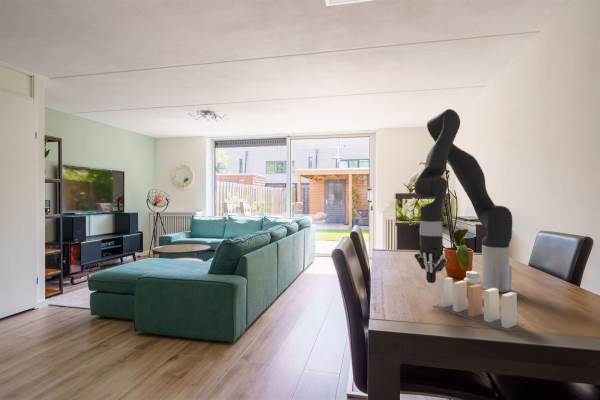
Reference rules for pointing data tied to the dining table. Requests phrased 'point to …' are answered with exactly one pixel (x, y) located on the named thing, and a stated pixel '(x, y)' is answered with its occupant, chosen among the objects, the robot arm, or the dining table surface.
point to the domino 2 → (459, 296)
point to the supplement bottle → (472, 279)
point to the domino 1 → (445, 292)
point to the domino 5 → (509, 309)
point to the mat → (479, 318)
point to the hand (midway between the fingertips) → (431, 282)
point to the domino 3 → (474, 300)
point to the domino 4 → (491, 304)
